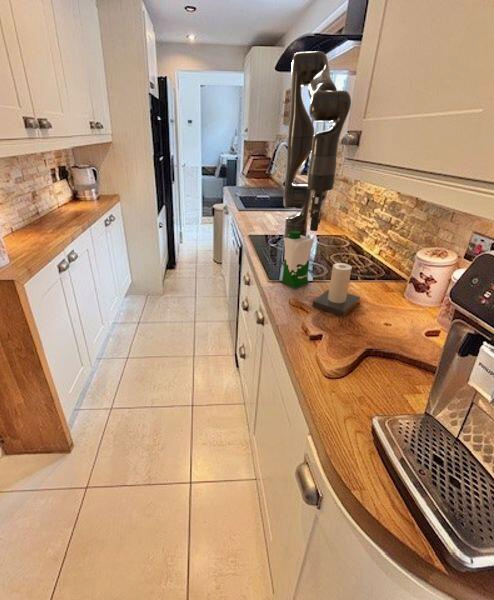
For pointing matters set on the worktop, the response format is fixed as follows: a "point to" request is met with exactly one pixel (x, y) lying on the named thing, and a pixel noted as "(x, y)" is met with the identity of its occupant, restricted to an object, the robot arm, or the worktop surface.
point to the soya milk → (296, 259)
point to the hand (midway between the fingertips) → (315, 226)
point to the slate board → (336, 304)
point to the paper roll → (339, 282)
